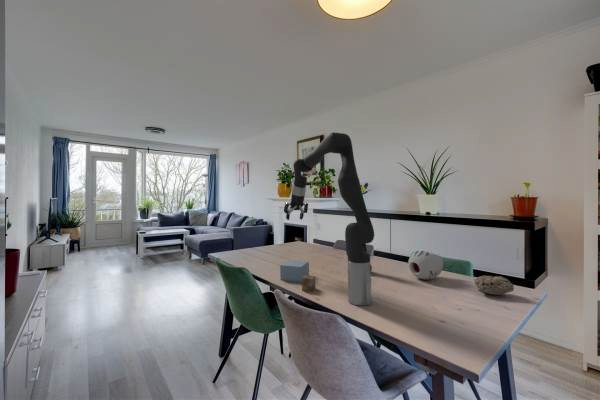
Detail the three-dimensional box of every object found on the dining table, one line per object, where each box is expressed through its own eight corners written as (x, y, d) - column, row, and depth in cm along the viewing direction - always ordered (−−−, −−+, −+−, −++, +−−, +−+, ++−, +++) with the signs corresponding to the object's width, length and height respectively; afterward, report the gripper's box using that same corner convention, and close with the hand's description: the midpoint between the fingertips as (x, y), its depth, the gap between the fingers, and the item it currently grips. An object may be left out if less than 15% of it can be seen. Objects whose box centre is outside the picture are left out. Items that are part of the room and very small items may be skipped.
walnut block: (315, 288, 131) (315, 275, 131) (311, 291, 126) (311, 279, 126) (305, 287, 133) (305, 275, 133) (301, 290, 128) (301, 278, 128)
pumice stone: (511, 293, 121) (511, 275, 121) (515, 302, 111) (515, 283, 110) (473, 287, 128) (473, 271, 128) (474, 296, 118) (474, 278, 117)
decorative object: (453, 280, 139) (453, 251, 139) (425, 285, 132) (425, 254, 132) (429, 272, 154) (428, 245, 153) (402, 276, 147) (402, 248, 146)
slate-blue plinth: (309, 275, 152) (308, 261, 152) (301, 282, 141) (301, 266, 140) (289, 273, 156) (289, 259, 156) (280, 280, 145) (280, 265, 145)
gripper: (289, 195, 150) (285, 222, 155) (312, 195, 156) (307, 221, 161) (284, 191, 156) (280, 217, 161) (306, 191, 162) (302, 216, 168)
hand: (294, 219), depth 161 cm, fingers open, 8 cm apart
